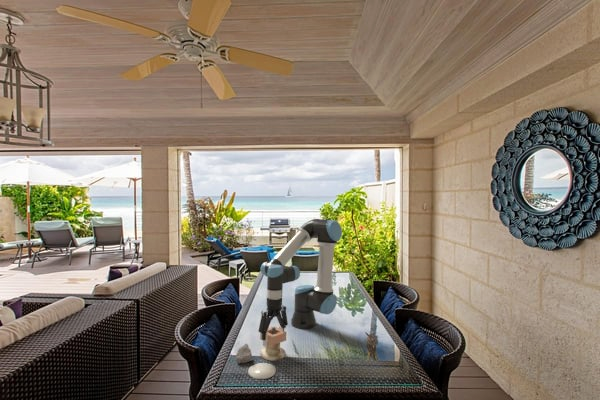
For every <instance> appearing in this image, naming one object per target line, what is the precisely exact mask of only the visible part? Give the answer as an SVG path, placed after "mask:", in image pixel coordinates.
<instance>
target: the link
mask: <svg viewBox="0 0 600 400" xmlns="http://www.w3.org/2000/svg"><path fill="white" fill-rule="evenodd" d="M272 327H273V326H271V327H269V328H268V330H267V333H268V344H269V345H271V346H272V345H275V344H278V343H280V344H281V343H282V342H286V341H287V331H286V330H284V331H283V330H281V329H279V327H277V326H274V327H275V334H273V335H272ZM264 331H265V330H264ZM259 334H260V338H259V339H260V340H261V341H263V340H262V333H260V332H259Z"/></svg>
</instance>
